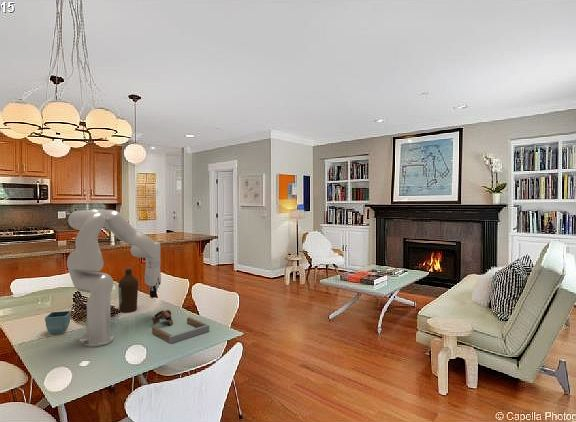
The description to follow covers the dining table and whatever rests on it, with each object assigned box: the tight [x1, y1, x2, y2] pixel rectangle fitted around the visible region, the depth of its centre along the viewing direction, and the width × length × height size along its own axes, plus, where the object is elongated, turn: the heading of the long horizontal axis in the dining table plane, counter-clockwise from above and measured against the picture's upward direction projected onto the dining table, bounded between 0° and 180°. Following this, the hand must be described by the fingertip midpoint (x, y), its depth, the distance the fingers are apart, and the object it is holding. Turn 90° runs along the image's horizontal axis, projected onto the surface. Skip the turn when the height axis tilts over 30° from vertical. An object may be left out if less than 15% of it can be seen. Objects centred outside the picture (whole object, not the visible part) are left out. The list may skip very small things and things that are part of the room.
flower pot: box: [44, 310, 72, 335], centre depth 167 cm, size 9×9×9 cm
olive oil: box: [117, 267, 139, 314], centre depth 202 cm, size 11×11×25 cm
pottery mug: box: [151, 309, 174, 327], centre depth 182 cm, size 12×10×8 cm
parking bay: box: [151, 316, 210, 344], centre depth 171 cm, size 21×18×3 cm
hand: (153, 297), depth 190 cm, fingers closed
